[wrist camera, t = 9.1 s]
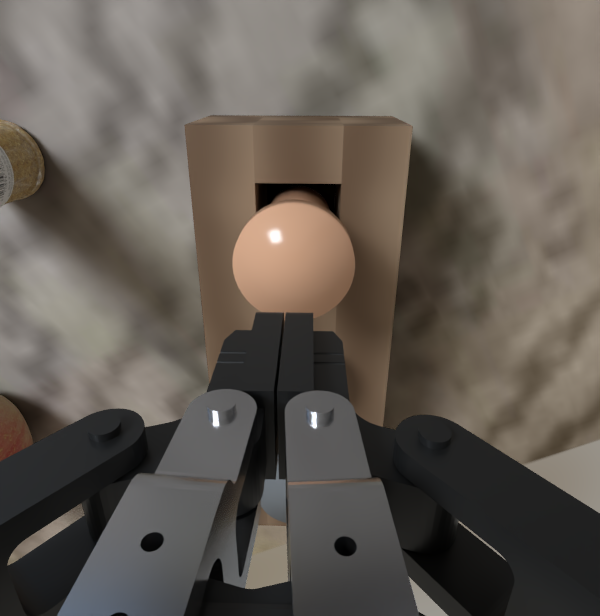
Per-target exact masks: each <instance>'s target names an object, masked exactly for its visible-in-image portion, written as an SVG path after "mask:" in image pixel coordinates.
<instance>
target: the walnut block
mask: <svg viewBox="0 0 600 616" xmlns="http://www.w3.org/2000/svg"><path fill="white" fill-rule="evenodd" d="M412 129H413V126H411V125H409V124H407V123H405V122H403V121H401V120H399V119H397V118H395V117H392V116H216V115H211V116H208V117H205V118H202V119H200V120H197V121H194V122H191V123H188V124H186V125H185V135H186V146H187V156H188V167H189V177H190V187H191V198H192V208H193V219H194V229H195V240H196V250H197V260H198V271H199V281H200V292H201V302H202V312H203V323H204V333H205V344H206V354H207V365H208V375H209V383H210V380H211V377H212V374H213V372H214V369H215V366H216V363H217V360H218V357H219V354H220V351H221V348H222V345H223V342H224V340H225V339H226V338H227V337H228V336H229V335H230V334H231V333H233V332H234V331H235V330H252V326H253V322H254V318H255V314H256V312H261V311H259V310H258V309H256V308H255V307H254V306H252V305H251V304H250V303H249V302H248V301H247V300H246V298H245V297H244V296H243V294H242V293H241V291H240V289H239V288H238V285H237V283H236V281H235V277H234V274H233V266H232V263H233V252H234V248H235V245H236V242H237V240H238V238H239V235H240V233H241V231H242V229H243V227H244V226H245V224H246V223H247V221H248V220H249V219H250V218H251V217H252V216H253V215H254V214H255V213H256V212H257V211H259V210H260V209H262V208H263V207H265V206H267V183H304V184H335V203H334V215H335V216H337V217H338V219H339V220H340V221H341V222H342V223H343V225H344V226H345V228H346V230H347V232H348V234H349V236H350V239H351V242H352V246H353V251H354V256H355V273H354V277H353V281H352V284H351V286H350V289H349V290H348V292H347V294H346V295H345V297H344V298H343V299H342V300H341V302H340V303H339V304H338V305H336V306H335V307H334V308H333V309H331V310H330V311H329V312H327V313H325V314H323V315H321V316H319V317H316V318H313V331H333V332H334V333H335V334H336V335H337V336H338V337H339V338H340V339H341V340H342V342H343V350H344V359H345V367H346V376H347V384H348V393H349V401H350V403H351V404H352V405H353V407H354V410H355V413H356V414H358V415H359V416H360V417H361V418H363V419H364V420H366V421H368V422H370V423H372V424H375V425H378V426H381V427H383V421H384V411H385V401H386V391H387V380H388V370H389V360H390V350H391V340H392V330H393V320H394V310H395V300H396V290H397V280H398V270H399V260H400V250H401V240H402V230H403V220H404V209H405V199H406V189H407V179H408V169H409V159H410V149H411V139H412ZM284 324H285V320H284ZM258 525H274V526H286V523H284V522H281V521H278V520H276V519H274V518H273V517H271V516H270V515H268V514H267V513H266V512H265V511H264V510H263V508H262V507H261V514H260V518H259V523H258Z"/></svg>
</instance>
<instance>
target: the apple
mask: <svg viewBox="0 0 600 616" xmlns="http://www.w3.org/2000/svg"><path fill="white" fill-rule="evenodd" d="M32 444H33V439H32V436H31V433H30V430H29V427H28V425H27V423H26V421H25V419H24V417H23V416H22V414H21V413H20V411H19V410H18V409H17V407H16V406H15V405H14V404H13V403H12V402H10V401H9V400H8V399H6V398H5V397H3V396H2V395H0V461H2V460H4V459H6V458H7V457H9V456H11V455H13V454H15V453H17V452H19V451H21V450H23V449H25V448H27V447H29V446H31V445H32Z"/></svg>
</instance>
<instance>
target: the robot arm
mask: <svg viewBox="0 0 600 616" xmlns="http://www.w3.org/2000/svg"><path fill="white" fill-rule="evenodd" d="M278 460H279V479H283V480H286V528H287V556H288V557H287V559H288V582H284V583H280V584H275V585H272V586H267V587H262V588H258V589H245V585H246V580H247V575H248V571H249V566H250V561H251V556H252V552H253V547H254V542H255V537H256V533H257V528H258V523H259V518H260V514H261V498H262V495H263V491H264V482H265V479H274V480H276V472H277V461H278ZM80 503H82V507H83V510H84V514H85V516H83V517H82V518H80V519H79V520H77V521H76V522H74V523H73V524H71V525H70V526H68V527H67V528H65V529H64V530H62V531H61V532H59V533H58V534H56V535H55V536H53V537H52V538H50V539H49V540H47V541H46V542H44V543H43V544H41V545H40V546H38V547H37V548H35V549H34V550H32V551H31V552H29V553H28V554H26V555H25V556H23V557H22V558H20V559H19V560H17V561H16V562H14V563H13V564H10V565H8V566H7V563H8V560H9V557H10V555H11V554H12V552H13V551H14V549H15V548H16V547H17V546H18V545H19V544H20V543H21V542H22V541H23V540H25V539H26V538H28V537H29V536H31V535H32V534H34V533H35V532H37V531H39V530H40V529H42V528H43V527H45V526H46V525H48V524H49V523H51V522H52V521H54V520H56V519H57V518H59V517H60V516H62V515H63V514H65V513H66V512H68V511H69V510H71V509H72V508H74V507H76V506H77V505H79V504H80ZM458 521H460V522H462V523H463V524H464V525H465V526H467V527H468V528H469V529H470V530H472V531H473V532H474V533H475V534H477V535H478V536H479V537H480V538H482V539H483V540H484V541H485V542H487V543H488V544H489V545H490V546H492V547H493V548H494V549H495V550H497V551H498V552H499V553H500V554H501V555H502V556H503V557H504V558H505V559H506V560H504V559H503V558H502V557H500V556H499V555H498V554H497V553H496V552H494V551H493V550H492V549H491V548H489V547H488V546H487V545H486V544H484V543H483V542H482V541H481V540H479V539H478V538H477V537H476V536H474V535H473V534H472V533H471V532H469V531H468V530H467V529H466V528H464V527H463V526H462V525H461V524H459V523H458ZM409 577H410V578H411V579H412V580H413V581H414V582H415V583H416V584H417V585H418V586H419V587H420V588H421V589H422V590H423V591H424V592H425V593H426V594H427V595H428V596H429V597H430V598H431V599H432V600H433V601H434V602H435V603H436V604H437V605H438V606H439V607H440V608H441V609H442V610H443V611H444V612H445V613H446V614H447V615H449V616H600V513H598V512H596V511H595V510H593V509H592V508H590V507H589V506H587V505H585V504H584V503H582V502H581V501H579V500H577V499H576V498H574V497H573V496H571V495H569V494H568V493H566V492H565V491H563V490H561V489H560V488H558V487H557V486H555V485H553V484H552V483H550V482H548V481H547V480H545V479H544V478H542V477H541V476H539V475H537V474H536V473H534V472H533V471H531V470H530V469H528V468H526V467H525V466H523V465H522V464H520V463H518V462H517V461H515V460H514V459H512V458H510V457H509V456H507V455H506V454H504V453H502V452H501V451H499V450H498V449H496V448H494V447H493V446H491V445H490V444H488V443H487V442H485V441H483V440H482V439H480V438H479V437H477V436H475V435H474V434H472V433H471V432H469V431H467V430H466V429H464V428H463V427H461V426H459V425H458V424H456V423H454V422H452V421H450V420H448V419H445V418H442V417H438V416H433V415H417V416H412V417H409V418H407V419H405V420H403V421H402V422H401V423H400V424H399V425H398V427H397V428H396V430H393V429H389V428H385V427H381V426H378V425H375V424H372V423H370V422H368V421H366V420H364V419H363V418H361V417H360V416H359V415H358V414H356V413H355V410H354V407H353V405H352V404H351V403H350V401H349V393H348V384H347V376H346V367H345V359H344V350H343V342H342V340H341V339H340V338H339V337H338V336H337V335H336V334H335V333H334V332H333V331H313V313H300V312H286V316H285V324H284V312H256V314H255V318H254V322H253V326H252V330H235V331H234V332H233V333H231V334H230V335H229V336H228V337H227V338H226V339H225V340H224V342H223V345H222V348H221V351H220V354H219V357H218V360H217V363H216V366H215V369H214V372H213V374H212V377H211V380H210V383H209V386H208V389H207V392H206V393H204V394H202V395H200V396H198V397H197V398H196V399H194V400H193V401H192V402H191V403H190V404H189V406H188V408H187V410H186V412H185V414H184V416H183V418H182V419H179V420H176V421H173V422H169V423H165V424H160V425H155V426H150V427H145V425H144V421H143V419H142V417H141V416H140V415H139V414H137V413H136V412H134V411H131V410H127V409H108V410H103V411H99V412H96V413H93V414H91V415H89V416H86V417H84V418H83V419H81V420H79V421H77V422H75V423H73V424H71V425H69V426H67V427H65V428H63V429H61V430H59V431H58V432H56V433H54V434H52V435H50V436H48V437H46V438H44V439H42V440H40V441H38V442H36V443H34V444H32V445H31V446H29V447H27V448H25V449H23V450H21V451H19V452H17V453H15V454H13V455H11V456H9V457H7V458H6V459H4V460H2V461H0V616H425V615H423V614H421V613H420V612H418V610H417V606H416V602H415V598H414V595H413V591H412V587H411V584H410V580H409Z"/></svg>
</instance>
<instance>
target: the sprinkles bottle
mask: <svg viewBox="0 0 600 616" xmlns="http://www.w3.org/2000/svg"><path fill="white" fill-rule="evenodd" d="M44 174H45V167H44V160H43V156H42V154H41V151H40V149H39V147H38V145H37V144H36V142H35V141H34V140H33V138H32V137H31V136H30V135H29V134H28V133H26V132H25V131H24V130H23V129H22V128H20V127H19V126H17V125H16V124H14V123H11V122H8V121H5V120H0V207H1V206H3V205H4V204H6V203H9V202H12V201H14V200H20V199H24V198H27V197H29V196H30V195H32V194H34V193H35V192H36V191H37V190H38V189H39V188H40V186H41V184H42V182H43V180H44Z"/></svg>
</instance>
